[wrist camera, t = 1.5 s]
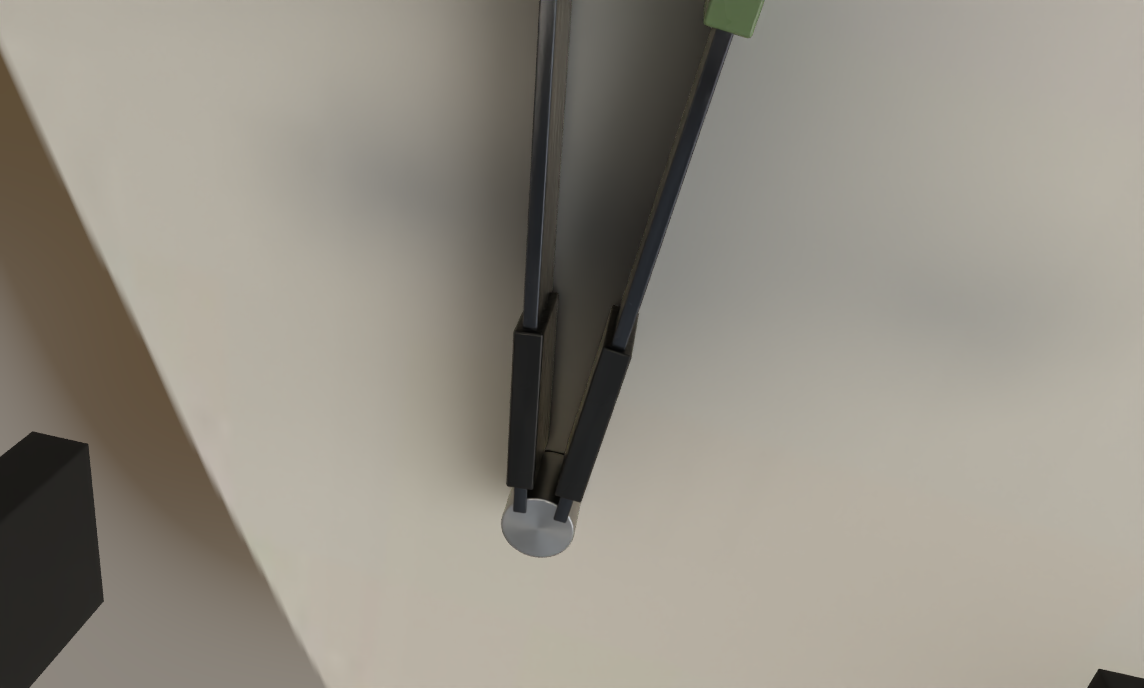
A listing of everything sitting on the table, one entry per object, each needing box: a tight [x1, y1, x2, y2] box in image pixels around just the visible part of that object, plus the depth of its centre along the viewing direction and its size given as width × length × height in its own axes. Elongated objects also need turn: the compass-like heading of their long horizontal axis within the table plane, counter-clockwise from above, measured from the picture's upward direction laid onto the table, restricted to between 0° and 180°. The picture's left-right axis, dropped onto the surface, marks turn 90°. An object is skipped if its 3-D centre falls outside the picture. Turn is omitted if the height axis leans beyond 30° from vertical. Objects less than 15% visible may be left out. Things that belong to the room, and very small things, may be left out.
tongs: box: [501, 0, 765, 557], centre depth 24 cm, size 19×6×3 cm, turn 170°
